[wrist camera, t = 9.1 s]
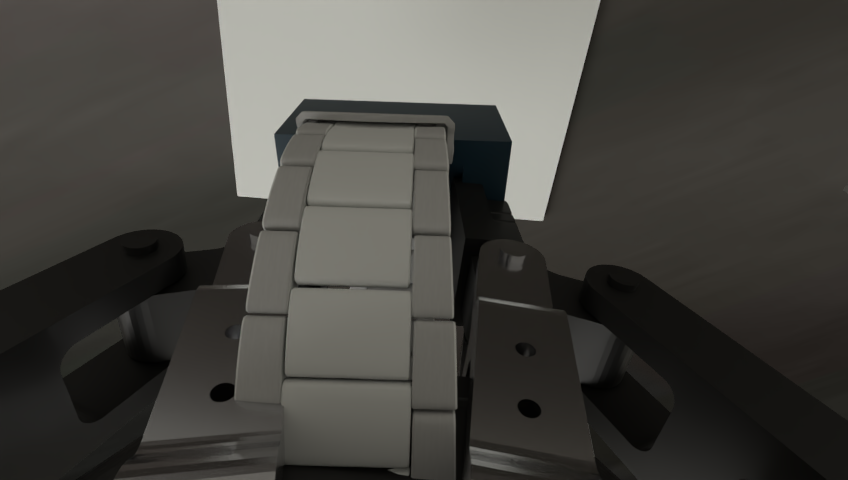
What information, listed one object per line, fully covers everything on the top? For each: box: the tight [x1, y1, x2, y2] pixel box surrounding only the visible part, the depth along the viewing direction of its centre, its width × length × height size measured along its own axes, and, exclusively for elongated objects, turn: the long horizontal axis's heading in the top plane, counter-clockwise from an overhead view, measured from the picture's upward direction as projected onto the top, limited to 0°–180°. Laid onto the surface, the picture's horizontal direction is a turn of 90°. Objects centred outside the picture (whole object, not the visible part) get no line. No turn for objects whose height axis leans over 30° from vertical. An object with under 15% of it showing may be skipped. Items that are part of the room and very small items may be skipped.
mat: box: [217, 0, 601, 221], centre depth 25 cm, size 18×14×1 cm
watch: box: [234, 99, 512, 480], centre depth 10 cm, size 6×8×11 cm
